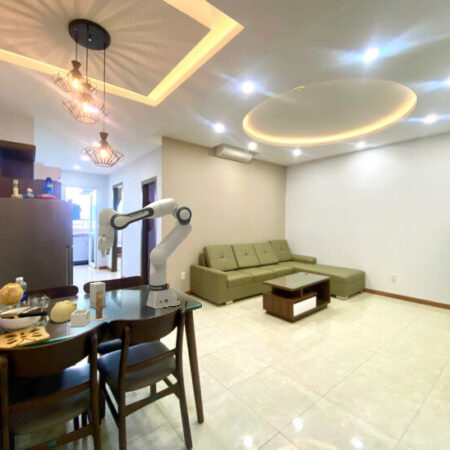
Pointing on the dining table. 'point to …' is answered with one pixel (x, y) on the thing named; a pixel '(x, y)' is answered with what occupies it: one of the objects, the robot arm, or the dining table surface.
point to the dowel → (99, 304)
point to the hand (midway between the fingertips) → (105, 255)
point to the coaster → (98, 319)
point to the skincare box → (93, 289)
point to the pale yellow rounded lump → (63, 311)
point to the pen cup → (80, 318)
